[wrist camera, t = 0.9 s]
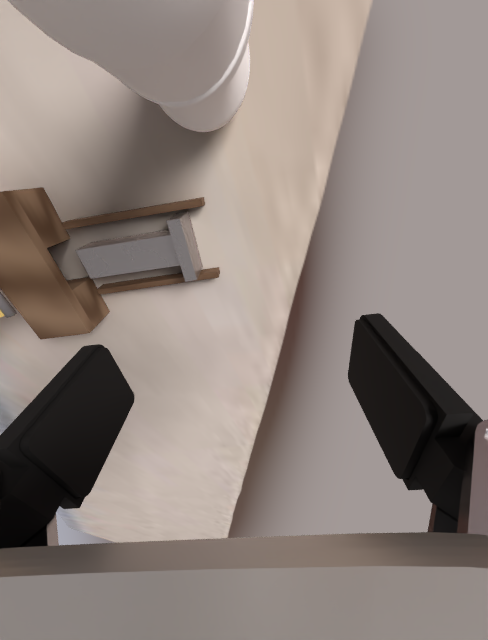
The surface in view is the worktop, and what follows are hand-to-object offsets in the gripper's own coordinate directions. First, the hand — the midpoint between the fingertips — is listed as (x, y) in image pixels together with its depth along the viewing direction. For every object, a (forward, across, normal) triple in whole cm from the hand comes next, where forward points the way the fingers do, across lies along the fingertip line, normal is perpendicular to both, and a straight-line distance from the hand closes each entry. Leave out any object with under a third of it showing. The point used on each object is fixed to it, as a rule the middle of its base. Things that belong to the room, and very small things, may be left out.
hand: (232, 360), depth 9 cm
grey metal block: (+19, +11, 0) cm, 22 cm away
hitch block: (+19, +14, 0) cm, 23 cm away
